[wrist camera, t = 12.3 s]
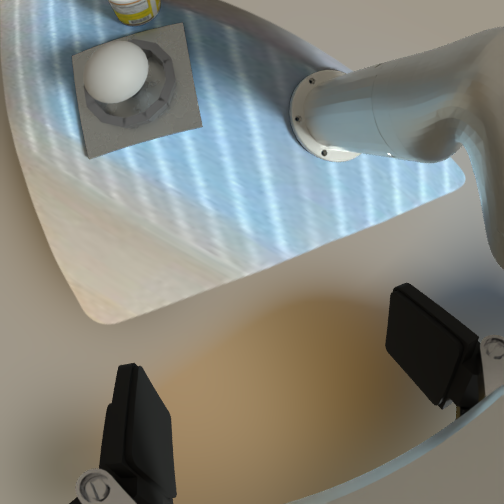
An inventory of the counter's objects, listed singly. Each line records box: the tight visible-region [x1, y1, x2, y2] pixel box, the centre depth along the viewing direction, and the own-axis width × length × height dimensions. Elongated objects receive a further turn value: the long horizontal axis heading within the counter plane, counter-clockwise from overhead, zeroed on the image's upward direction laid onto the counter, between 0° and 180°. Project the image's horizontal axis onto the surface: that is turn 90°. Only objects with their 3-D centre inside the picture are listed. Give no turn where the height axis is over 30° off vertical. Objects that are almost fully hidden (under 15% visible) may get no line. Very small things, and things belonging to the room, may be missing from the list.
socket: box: [84, 39, 176, 129], centre depth 26 cm, size 10×10×3 cm
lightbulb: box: [83, 41, 149, 104], centre depth 23 cm, size 6×6×11 cm
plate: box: [72, 23, 203, 159], centre depth 28 cm, size 14×14×1 cm
